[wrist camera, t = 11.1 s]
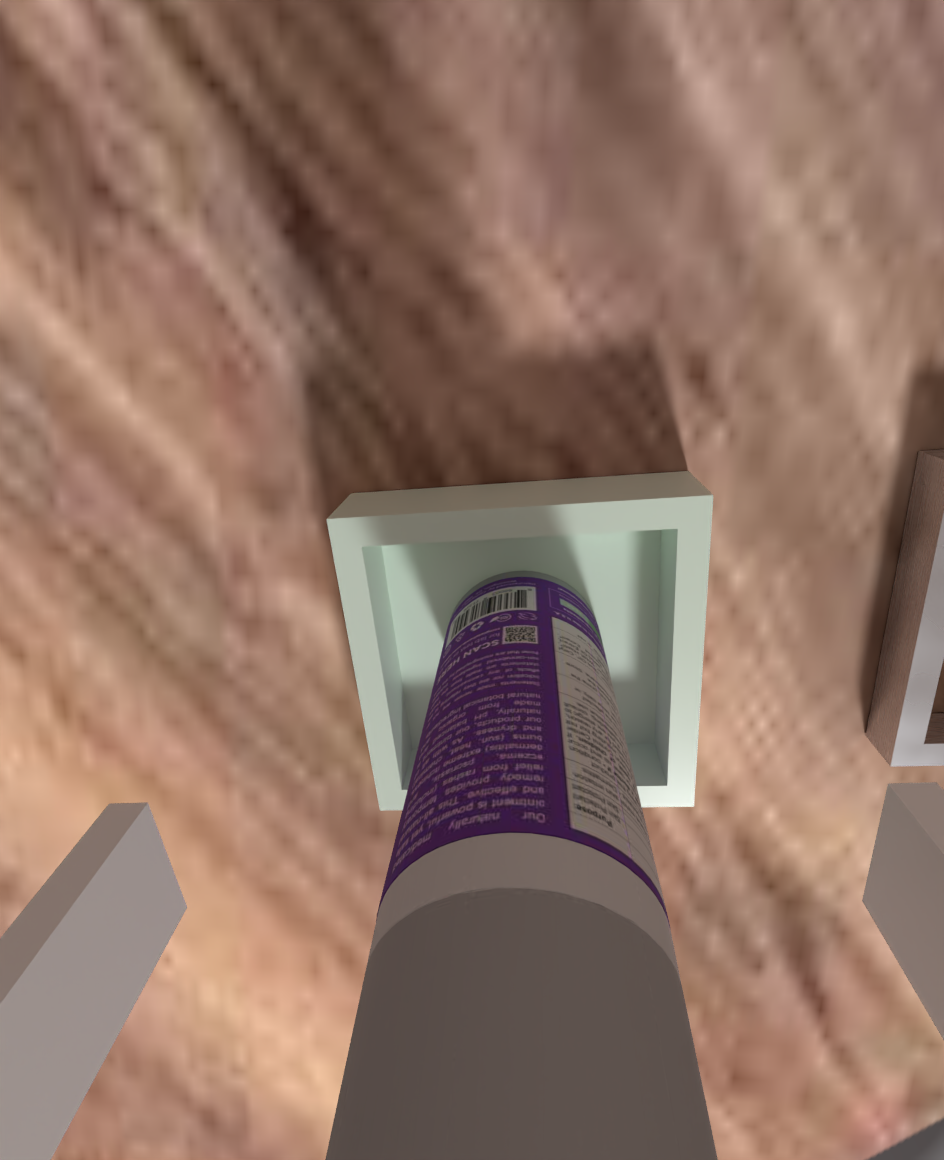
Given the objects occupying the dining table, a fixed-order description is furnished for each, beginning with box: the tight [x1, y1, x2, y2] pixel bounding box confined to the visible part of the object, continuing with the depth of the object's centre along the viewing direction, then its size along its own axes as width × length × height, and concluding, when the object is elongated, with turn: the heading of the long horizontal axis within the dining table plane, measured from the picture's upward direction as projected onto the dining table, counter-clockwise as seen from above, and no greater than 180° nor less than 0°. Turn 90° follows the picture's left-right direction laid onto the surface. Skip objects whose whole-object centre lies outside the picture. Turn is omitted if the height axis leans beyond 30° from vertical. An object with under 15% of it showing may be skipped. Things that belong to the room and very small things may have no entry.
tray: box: [327, 471, 713, 810], centre depth 19 cm, size 10×10×2 cm
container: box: [326, 571, 718, 1160], centre depth 12 cm, size 5×5×15 cm
